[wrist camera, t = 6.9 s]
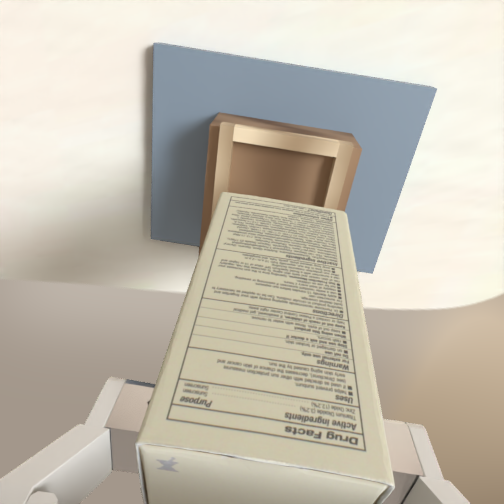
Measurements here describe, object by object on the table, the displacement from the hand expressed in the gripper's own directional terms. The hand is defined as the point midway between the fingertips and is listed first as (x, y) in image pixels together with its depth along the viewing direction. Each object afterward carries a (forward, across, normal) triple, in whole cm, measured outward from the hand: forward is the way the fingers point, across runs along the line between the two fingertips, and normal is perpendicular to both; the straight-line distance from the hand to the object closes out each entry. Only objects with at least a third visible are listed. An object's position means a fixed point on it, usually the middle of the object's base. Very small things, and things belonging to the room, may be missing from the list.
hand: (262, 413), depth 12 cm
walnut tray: (+20, 0, 0) cm, 20 cm away
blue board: (+21, 0, -1) cm, 21 cm away
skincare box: (+10, 0, -1) cm, 10 cm away
